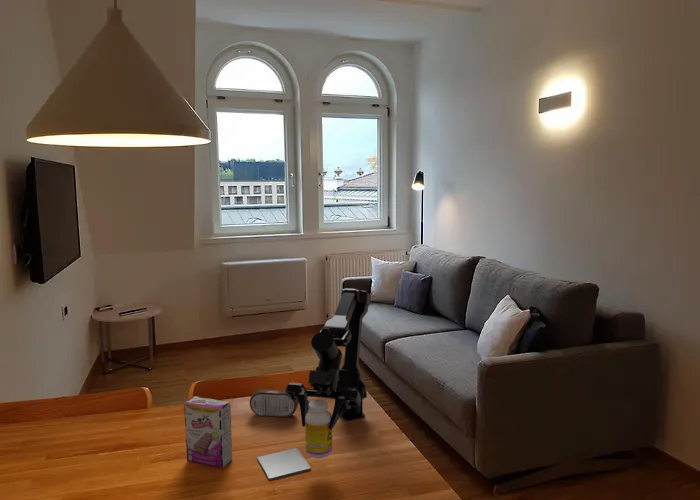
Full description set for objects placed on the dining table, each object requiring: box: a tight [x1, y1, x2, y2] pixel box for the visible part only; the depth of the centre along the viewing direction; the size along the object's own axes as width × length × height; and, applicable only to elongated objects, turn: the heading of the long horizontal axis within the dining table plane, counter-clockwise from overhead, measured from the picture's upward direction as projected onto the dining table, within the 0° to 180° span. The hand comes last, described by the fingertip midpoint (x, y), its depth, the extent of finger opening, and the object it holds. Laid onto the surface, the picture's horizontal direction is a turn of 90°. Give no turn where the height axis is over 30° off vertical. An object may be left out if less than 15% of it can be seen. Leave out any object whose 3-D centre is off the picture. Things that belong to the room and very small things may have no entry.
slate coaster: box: [256, 447, 312, 481], centre depth 137 cm, size 11×11×1 cm
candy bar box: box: [183, 395, 233, 469], centre depth 138 cm, size 11×5×16 cm, turn 71°
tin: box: [249, 388, 299, 418], centre depth 164 cm, size 15×3×8 cm, turn 84°
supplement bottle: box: [304, 399, 333, 459], centre depth 131 cm, size 7×7×13 cm
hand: (316, 428), depth 130 cm, fingers closed on supplement bottle, 7 cm apart
